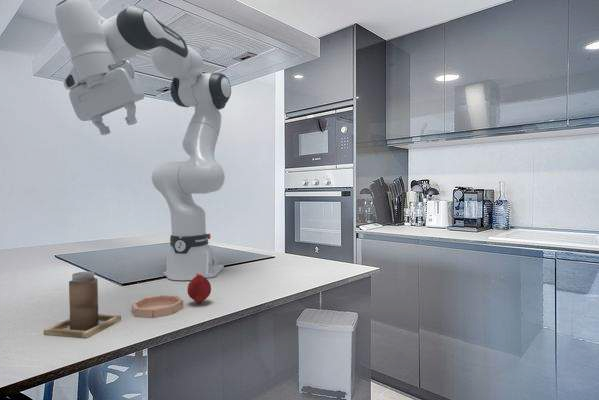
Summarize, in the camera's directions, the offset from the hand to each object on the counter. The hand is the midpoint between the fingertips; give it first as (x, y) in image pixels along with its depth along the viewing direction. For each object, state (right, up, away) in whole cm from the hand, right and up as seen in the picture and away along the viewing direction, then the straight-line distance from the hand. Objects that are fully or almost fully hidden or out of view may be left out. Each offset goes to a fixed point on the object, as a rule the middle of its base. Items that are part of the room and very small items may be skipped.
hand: (119, 129), depth 86 cm
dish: (+9, -44, +1) cm, 45 cm away
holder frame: (-2, -44, -10) cm, 46 cm away
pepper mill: (-2, -44, -10) cm, 46 cm away
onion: (+18, -44, +5) cm, 48 cm away
